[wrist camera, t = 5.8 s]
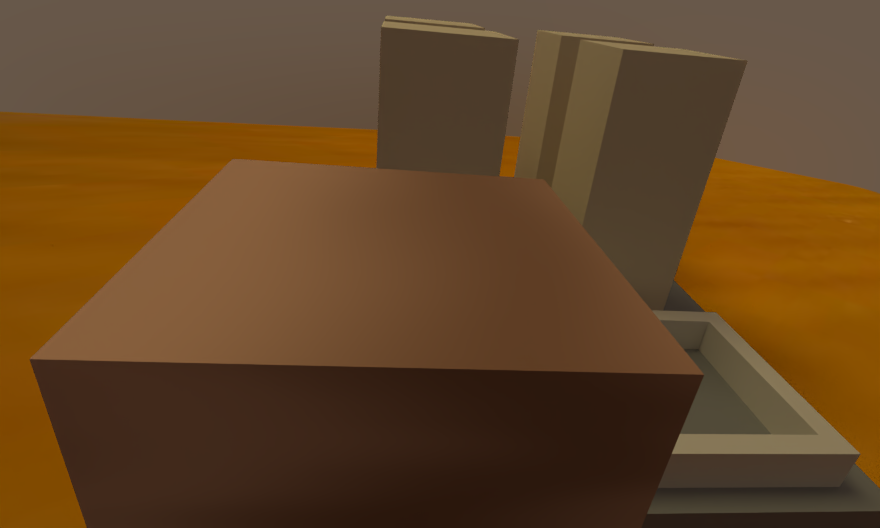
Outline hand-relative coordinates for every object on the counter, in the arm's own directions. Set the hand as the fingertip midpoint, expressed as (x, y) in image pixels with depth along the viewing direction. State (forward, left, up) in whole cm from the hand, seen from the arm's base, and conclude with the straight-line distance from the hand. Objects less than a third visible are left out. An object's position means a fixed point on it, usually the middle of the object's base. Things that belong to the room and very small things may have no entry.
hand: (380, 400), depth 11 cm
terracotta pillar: (0, -3, -7) cm, 7 cm away
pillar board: (+7, +13, -7) cm, 17 cm away
